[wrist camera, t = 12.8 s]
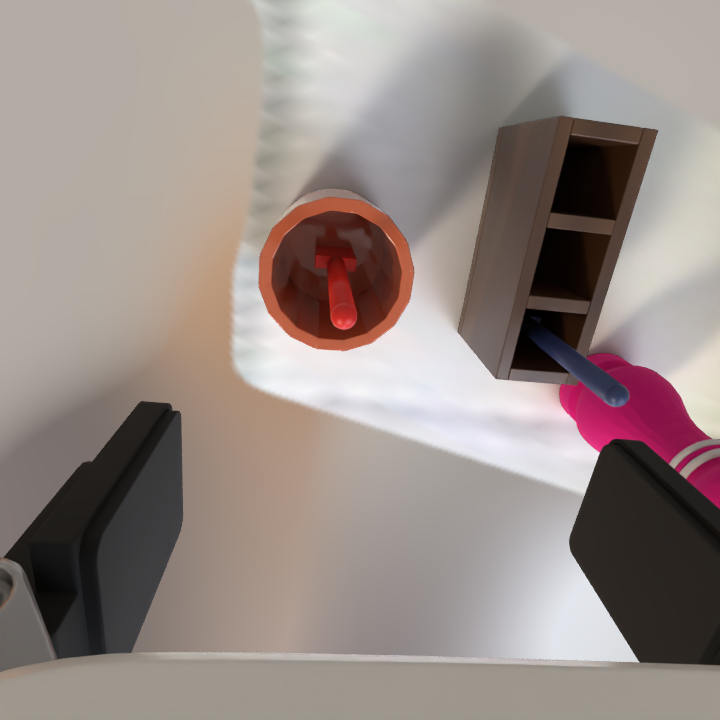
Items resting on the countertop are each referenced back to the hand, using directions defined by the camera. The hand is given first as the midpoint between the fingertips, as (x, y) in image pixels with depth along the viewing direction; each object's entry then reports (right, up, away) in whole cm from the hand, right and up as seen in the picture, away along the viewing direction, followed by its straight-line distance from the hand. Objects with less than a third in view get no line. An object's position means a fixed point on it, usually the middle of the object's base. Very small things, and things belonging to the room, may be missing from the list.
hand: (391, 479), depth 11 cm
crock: (-3, +10, +24) cm, 26 cm away
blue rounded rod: (+10, +7, +26) cm, 28 cm away
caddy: (+11, +11, +25) cm, 29 cm away
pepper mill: (+19, 0, +30) cm, 36 cm away
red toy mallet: (-2, +10, +23) cm, 25 cm away
